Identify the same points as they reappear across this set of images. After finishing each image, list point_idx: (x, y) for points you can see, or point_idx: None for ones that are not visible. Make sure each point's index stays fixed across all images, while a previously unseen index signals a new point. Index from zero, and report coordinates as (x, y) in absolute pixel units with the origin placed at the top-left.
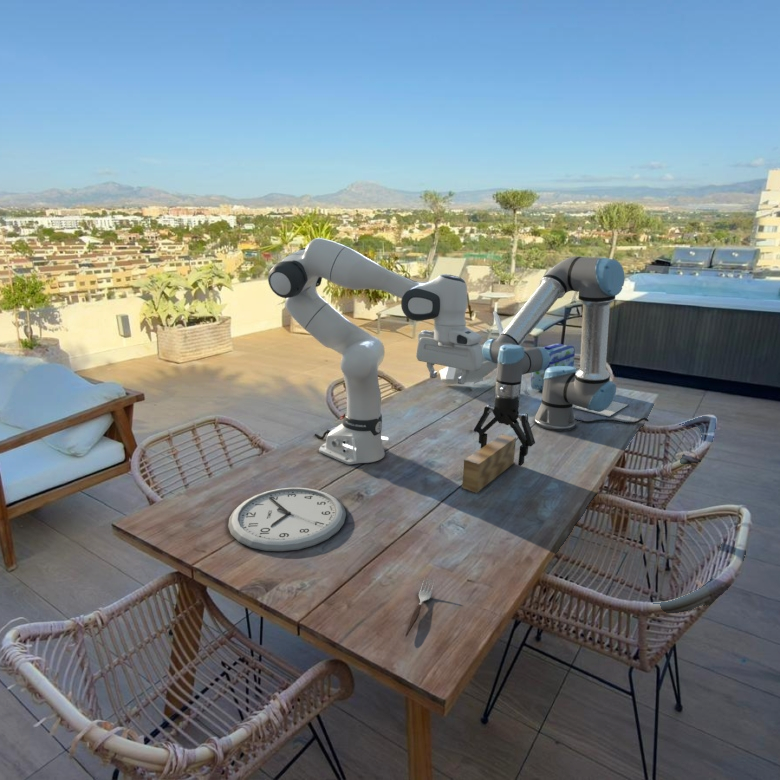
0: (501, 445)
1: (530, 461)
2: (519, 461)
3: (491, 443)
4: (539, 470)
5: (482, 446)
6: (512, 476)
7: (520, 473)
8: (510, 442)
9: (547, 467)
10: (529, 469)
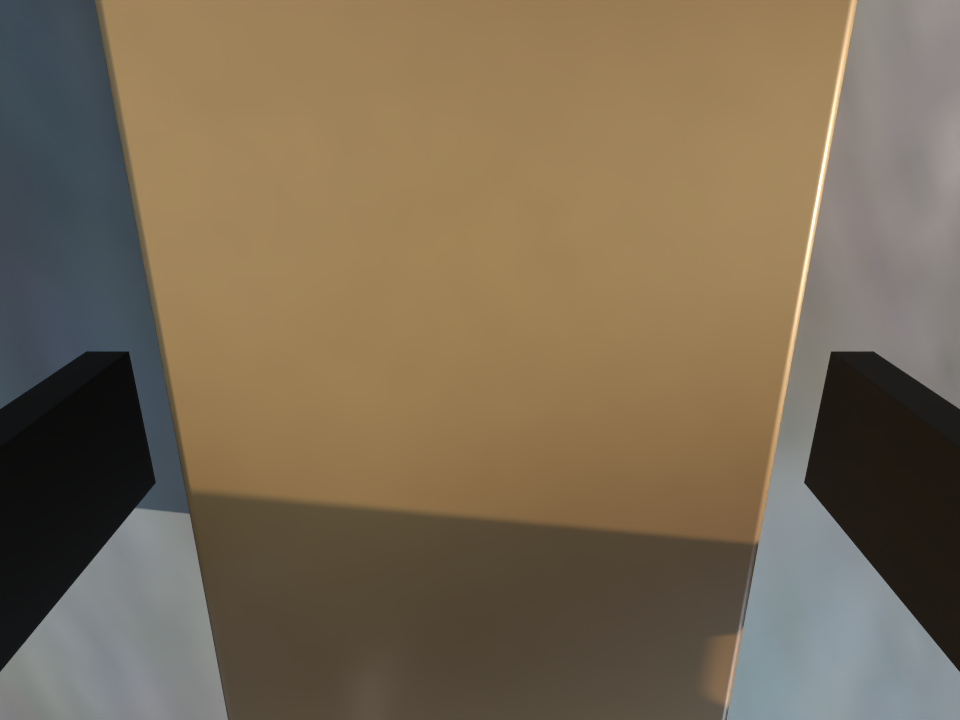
0: (254, 243)
1: None
2: (68, 384)
3: (711, 168)
4: None
5: (941, 425)
6: None
7: (146, 318)
8: (239, 707)
9: (20, 660)
10: None
